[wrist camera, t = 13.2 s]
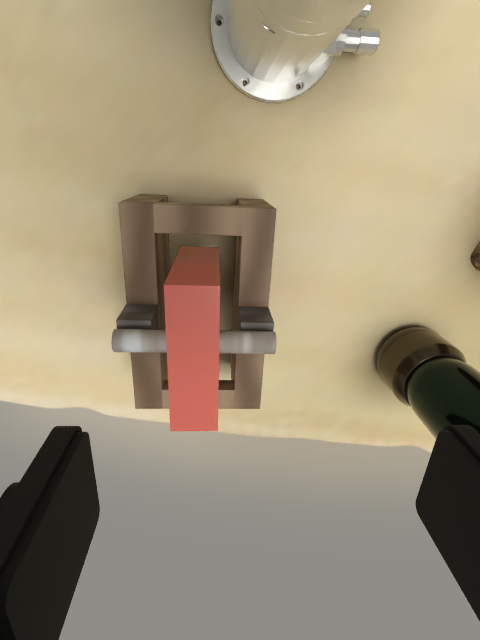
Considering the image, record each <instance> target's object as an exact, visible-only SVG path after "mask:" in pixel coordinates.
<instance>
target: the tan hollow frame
mask: <svg viewBox="0 0 480 640" xmlns="http://www.w3.org/2000/svg"><path fill="white" fill-rule="evenodd" d="M118 204H119V216H120V228H121V240H122V252H123V264H124V276H125V288H126V300H127V304H126V306H125V308H124V309H123V311H122V312H121V314H120V315H119V317H118V318H117V320H116V322H117V329H114V331H113V334H112V349H113V351H114V352H131V361H132V373H133V385H134V397H135V409H170V408H169V387H168V366H167V345H166V324H165V303H164V283H165V281H166V279H167V276H168V274H169V272H170V263H169V233H174V234H201V235H229V236H236V245H235V269H234V293H233V317H232V331H219V353H231V378H232V380H219V387H218V409H260V400H261V388H262V376H263V364H264V354H275V351H276V334H275V332H273V329H274V322H273V319H272V316H271V313H270V311H269V308H268V304H269V291H270V279H271V267H272V255H273V243H274V231H275V219H276V209H275V208H274V207H273V206H271V205H270V204H268V203H267V202H266V201H264V200H259V199H237V205H215V204H192V203H169V202H168V200H167V195H146V194H140V195H137V196H135V197H132V198H129V199H127V200H124V201H121V202H119V203H118Z"/></svg>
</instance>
